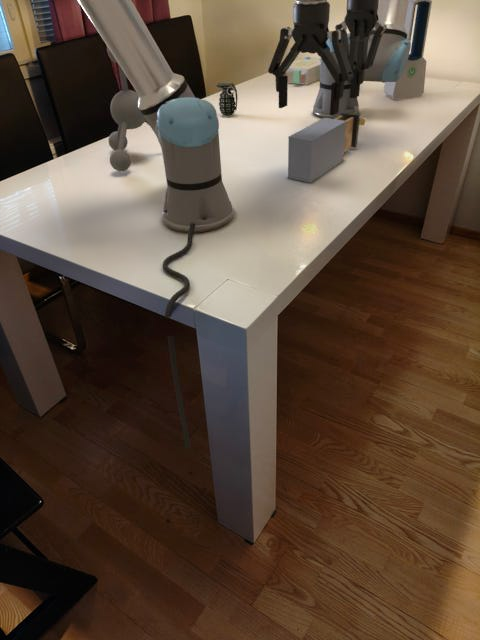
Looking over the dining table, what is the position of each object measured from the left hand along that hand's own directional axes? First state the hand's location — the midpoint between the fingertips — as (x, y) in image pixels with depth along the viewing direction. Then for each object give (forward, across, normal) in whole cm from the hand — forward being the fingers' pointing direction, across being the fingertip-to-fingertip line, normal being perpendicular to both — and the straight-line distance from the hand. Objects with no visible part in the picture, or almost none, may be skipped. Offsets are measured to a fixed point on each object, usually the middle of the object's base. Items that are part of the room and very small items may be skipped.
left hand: (307, 110), depth 113 cm
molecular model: (+16, +47, +10) cm, 51 cm away
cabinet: (+16, 0, -6) cm, 17 cm away
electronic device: (+16, +7, -84) cm, 85 cm away
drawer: (+15, 0, -19) cm, 24 cm away
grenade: (+16, +51, -35) cm, 64 cm away
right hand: (+2, 0, -25) cm, 25 cm away
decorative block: (+16, +55, -93) cm, 109 cm away
